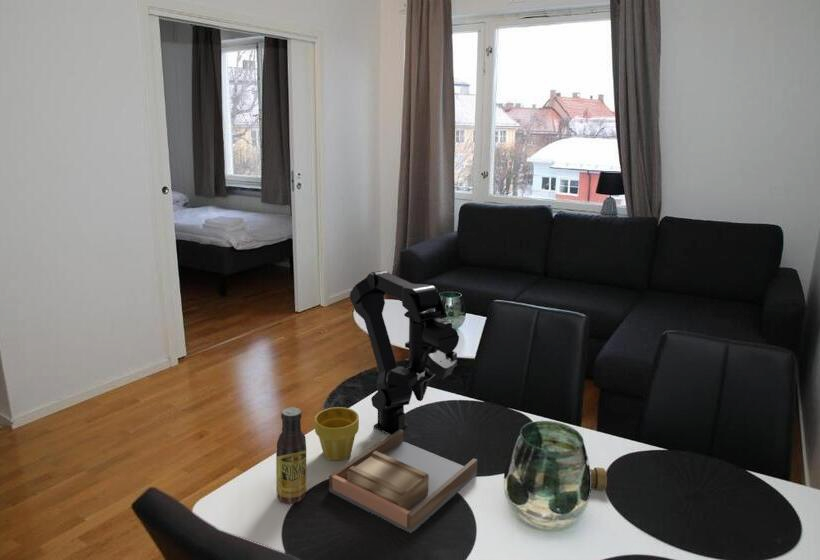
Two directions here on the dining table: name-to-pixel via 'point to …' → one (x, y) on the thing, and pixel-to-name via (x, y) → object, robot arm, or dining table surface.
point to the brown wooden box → (390, 479)
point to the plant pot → (336, 431)
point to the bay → (441, 471)
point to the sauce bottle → (291, 458)
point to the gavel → (598, 478)
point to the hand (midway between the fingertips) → (419, 400)
